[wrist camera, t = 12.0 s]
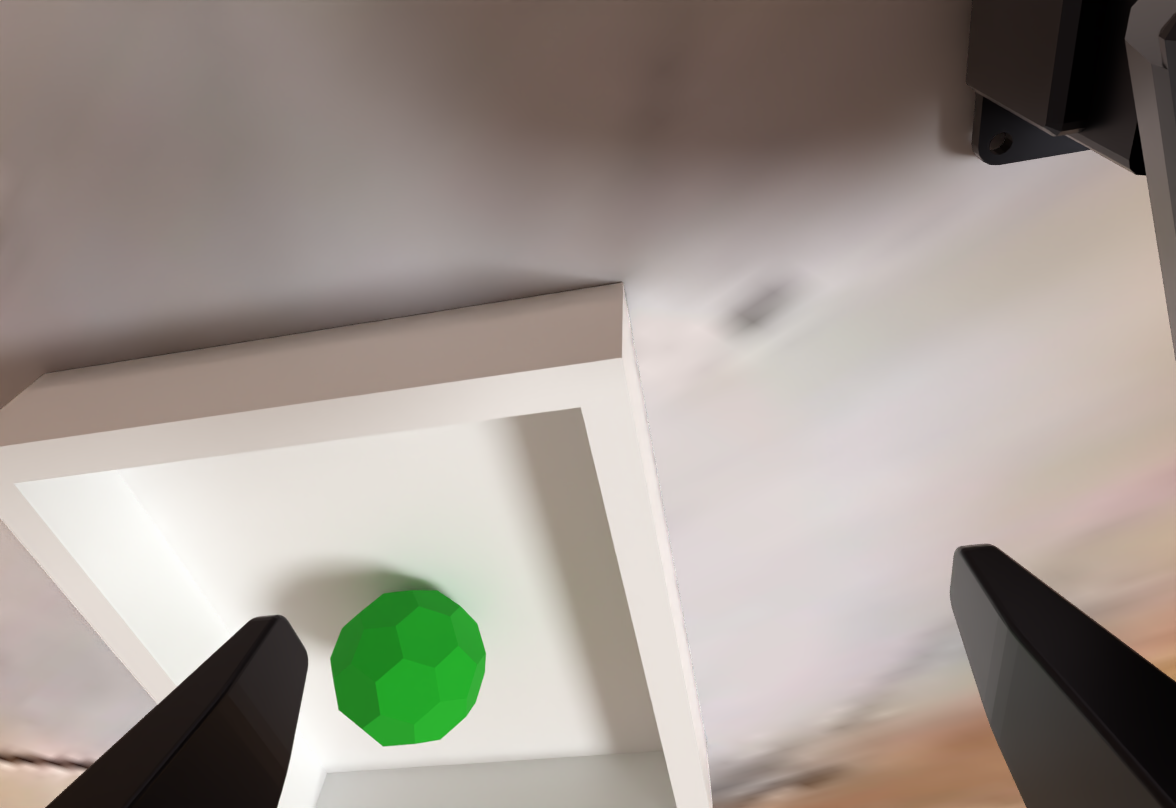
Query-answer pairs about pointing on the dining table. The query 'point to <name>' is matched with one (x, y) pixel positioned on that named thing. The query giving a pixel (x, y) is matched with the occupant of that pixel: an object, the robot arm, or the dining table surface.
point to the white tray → (389, 537)
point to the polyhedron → (408, 667)
